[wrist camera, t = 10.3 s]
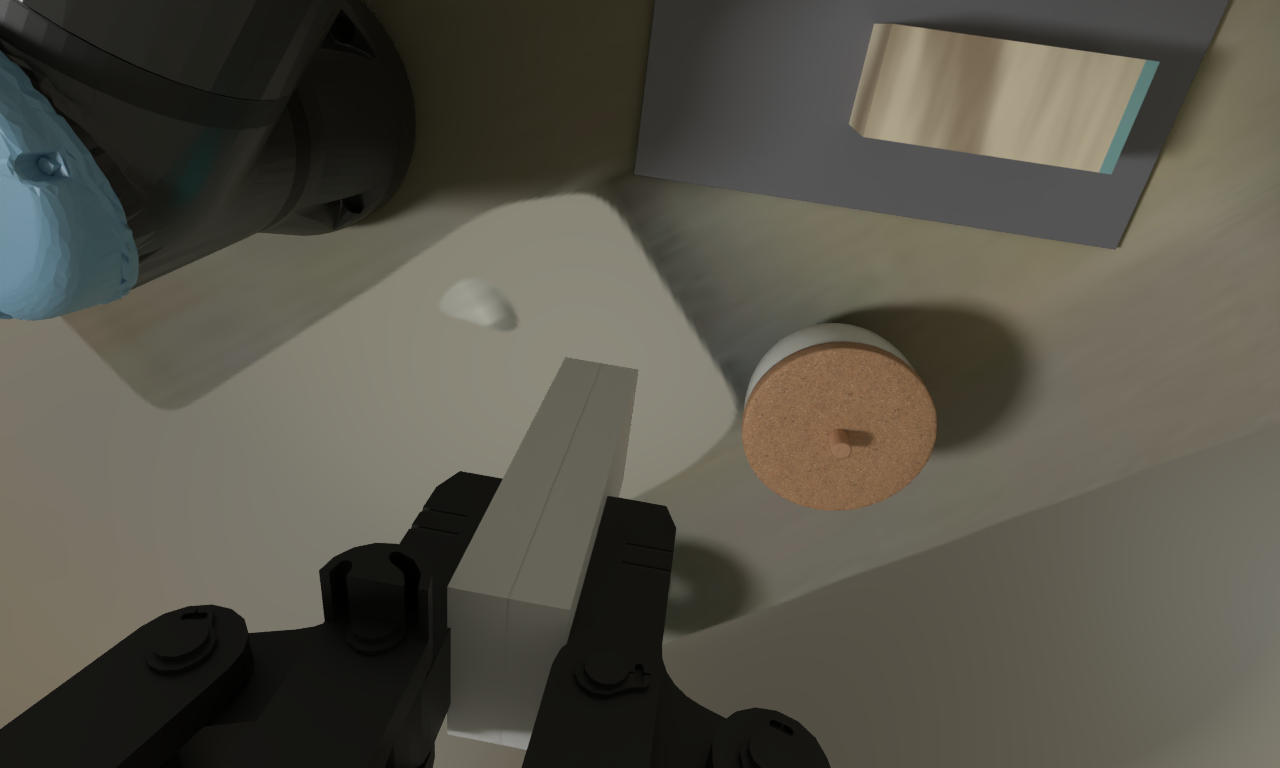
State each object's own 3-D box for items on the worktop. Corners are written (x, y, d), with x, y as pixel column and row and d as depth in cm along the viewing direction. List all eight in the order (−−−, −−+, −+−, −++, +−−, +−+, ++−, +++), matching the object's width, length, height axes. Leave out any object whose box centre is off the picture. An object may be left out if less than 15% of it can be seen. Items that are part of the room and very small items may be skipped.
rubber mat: (634, 173, 42) (634, 174, 42) (669, -109, 36) (668, -110, 35) (1112, 247, 41) (1115, 249, 40) (1238, -32, 34) (1243, -32, 34)
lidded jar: (938, 328, 44) (984, 398, 36) (865, 462, 49) (891, 552, 41) (775, 276, 44) (784, 335, 36) (719, 416, 49) (715, 497, 41)
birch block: (863, 137, 35) (1111, 174, 34) (892, 23, 32) (1159, 61, 32) (848, 124, 39) (1068, 156, 39) (874, 23, 37) (1108, 57, 36)
